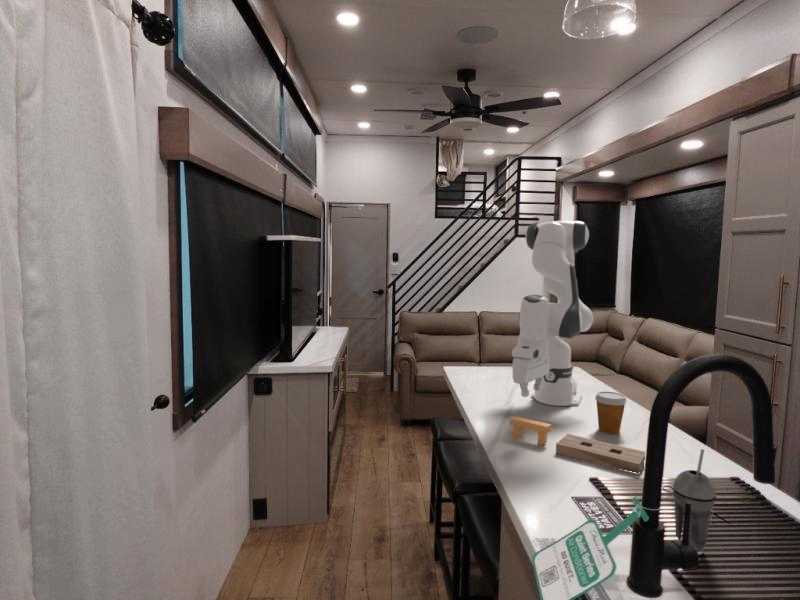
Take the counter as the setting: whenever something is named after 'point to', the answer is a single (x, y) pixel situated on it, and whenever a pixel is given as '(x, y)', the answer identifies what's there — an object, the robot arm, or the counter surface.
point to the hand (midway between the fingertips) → (531, 393)
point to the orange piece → (532, 425)
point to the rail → (601, 453)
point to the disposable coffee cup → (610, 411)
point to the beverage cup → (694, 503)
